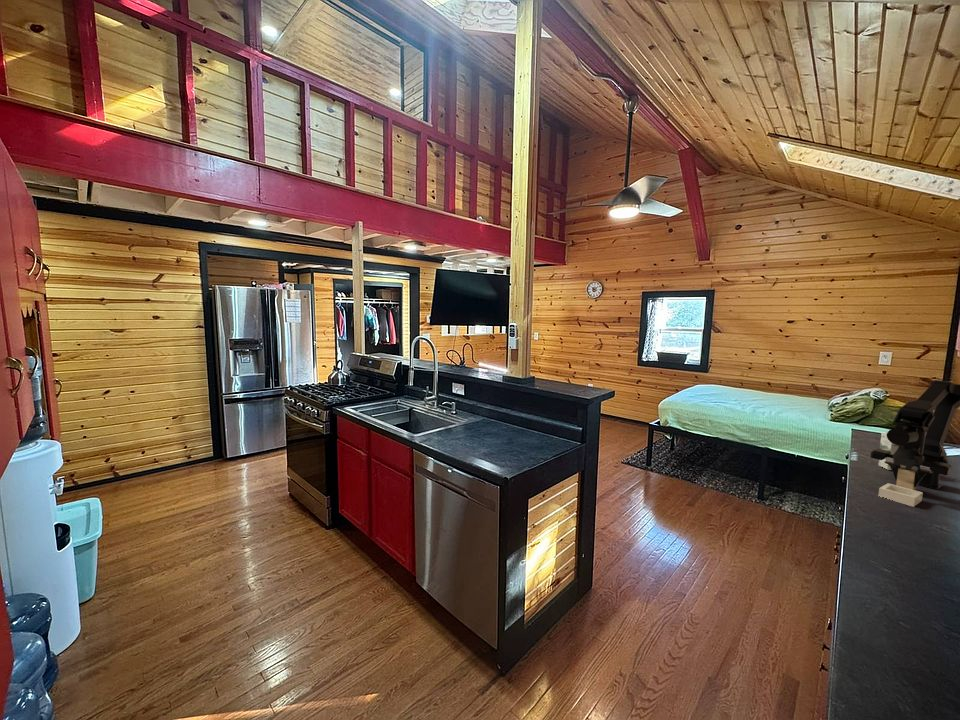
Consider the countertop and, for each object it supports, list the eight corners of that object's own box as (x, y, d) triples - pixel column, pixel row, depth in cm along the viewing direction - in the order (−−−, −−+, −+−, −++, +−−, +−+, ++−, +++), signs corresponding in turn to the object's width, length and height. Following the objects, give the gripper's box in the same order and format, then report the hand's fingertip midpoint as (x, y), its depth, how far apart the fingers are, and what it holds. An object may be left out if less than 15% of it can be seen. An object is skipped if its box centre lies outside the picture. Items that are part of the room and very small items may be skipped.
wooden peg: (899, 488, 142) (902, 464, 141) (915, 492, 138) (918, 467, 137) (895, 490, 140) (898, 466, 139) (911, 494, 136) (915, 469, 135)
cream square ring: (886, 491, 139) (888, 483, 139) (921, 501, 132) (922, 492, 131) (878, 496, 135) (879, 488, 135) (913, 506, 128) (914, 497, 127)
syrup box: (905, 472, 157) (910, 436, 155) (887, 470, 158) (892, 435, 156) (893, 466, 162) (898, 432, 161) (876, 465, 163) (881, 431, 162)
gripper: (867, 437, 141) (862, 479, 143) (946, 453, 125) (939, 500, 127) (878, 433, 147) (873, 473, 148) (955, 448, 131) (948, 493, 132)
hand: (906, 484), depth 139 cm, fingers closed on wooden peg, 4 cm apart
